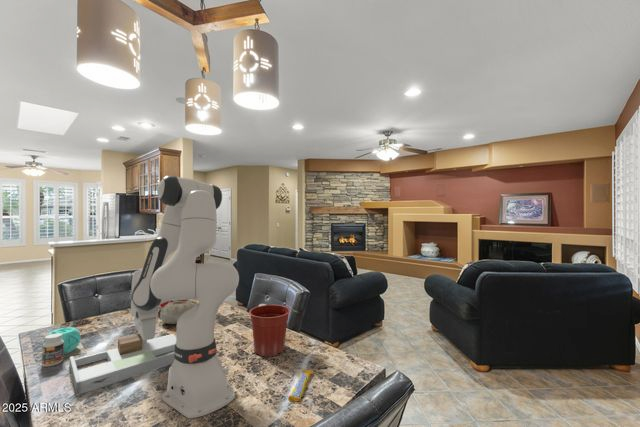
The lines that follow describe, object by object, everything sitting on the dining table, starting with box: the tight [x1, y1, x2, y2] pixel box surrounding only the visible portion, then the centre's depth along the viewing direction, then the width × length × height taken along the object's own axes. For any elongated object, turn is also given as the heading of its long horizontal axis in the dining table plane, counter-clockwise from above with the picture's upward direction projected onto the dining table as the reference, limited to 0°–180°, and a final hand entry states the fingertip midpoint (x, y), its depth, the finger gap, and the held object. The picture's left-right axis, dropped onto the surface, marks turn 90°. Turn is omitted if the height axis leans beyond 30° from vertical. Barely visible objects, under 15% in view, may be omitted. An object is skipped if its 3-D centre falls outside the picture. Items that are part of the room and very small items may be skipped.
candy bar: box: [288, 369, 314, 402], centre depth 92 cm, size 17×4×2 cm, turn 168°
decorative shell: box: [159, 300, 197, 325], centre depth 146 cm, size 18×18×10 cm
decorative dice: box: [42, 326, 81, 355], centre depth 113 cm, size 8×8×8 cm
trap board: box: [69, 333, 176, 396], centre depth 105 cm, size 22×34×4 cm, turn 135°
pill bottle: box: [41, 333, 65, 367], centre depth 104 cm, size 6×6×10 cm
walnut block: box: [117, 333, 142, 355], centre depth 110 cm, size 7×7×4 cm
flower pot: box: [248, 304, 291, 358], centre depth 117 cm, size 16×16×16 cm
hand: (143, 343), depth 112 cm, fingers closed
